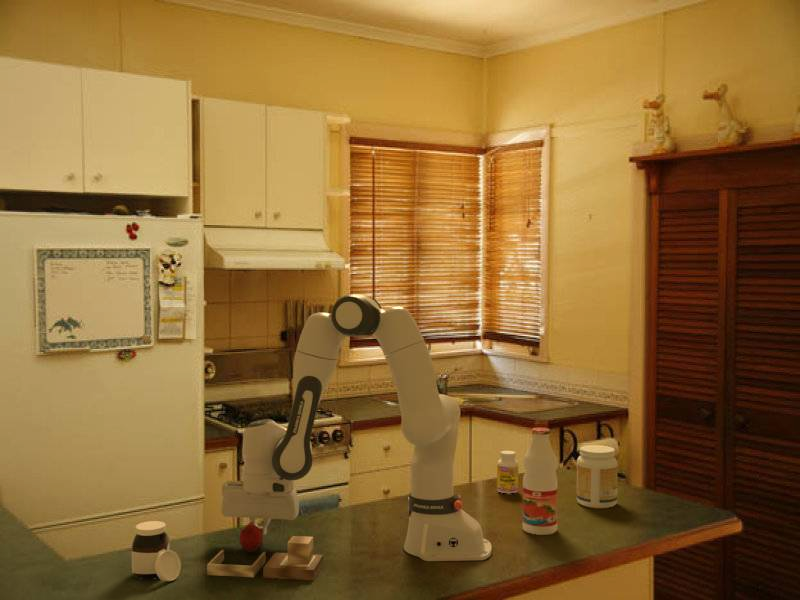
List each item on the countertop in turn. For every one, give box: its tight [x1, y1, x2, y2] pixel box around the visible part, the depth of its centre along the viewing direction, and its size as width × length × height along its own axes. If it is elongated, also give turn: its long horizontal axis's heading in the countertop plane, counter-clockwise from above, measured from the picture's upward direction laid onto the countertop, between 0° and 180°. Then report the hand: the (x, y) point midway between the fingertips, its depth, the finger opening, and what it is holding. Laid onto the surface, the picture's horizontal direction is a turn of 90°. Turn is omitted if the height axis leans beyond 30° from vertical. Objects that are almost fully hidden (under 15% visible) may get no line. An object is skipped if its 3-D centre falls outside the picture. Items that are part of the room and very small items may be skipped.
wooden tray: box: [206, 549, 324, 582], centre depth 202 cm, size 26×10×3 cm, turn 82°
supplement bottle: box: [496, 450, 519, 494], centre depth 270 cm, size 7×7×13 cm
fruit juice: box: [522, 427, 559, 536], centre depth 232 cm, size 9×9×28 cm
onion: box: [238, 520, 264, 553], centre depth 214 cm, size 6×6×8 cm
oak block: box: [287, 535, 314, 565], centre depth 201 cm, size 5×5×5 cm
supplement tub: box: [576, 444, 619, 509], centre depth 257 cm, size 12×12×17 cm
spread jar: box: [131, 520, 182, 582], centre depth 198 cm, size 12×11×12 cm
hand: (260, 533), depth 222 cm, fingers closed
